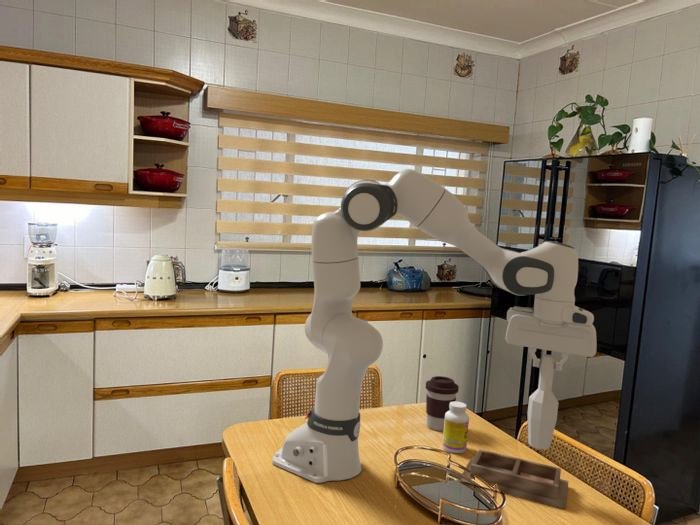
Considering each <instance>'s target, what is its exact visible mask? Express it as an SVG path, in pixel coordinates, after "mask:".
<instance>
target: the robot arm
mask: <svg viewBox="0 0 700 525" xmlns="http://www.w3.org/2000/svg"><path fill="white" fill-rule="evenodd" d="M394 216H399V217H401V218H403V219H404V220H406V221H408V222H409V223H410V224H411V225H412V226H414V227H415V228H417V229H418V230H419V231H421V232H423V233H424V234H426V235H427V236H429V237H431V238H433V239H435V240H437V241H439V242H441V243H445V244H449V245H451V246H453V247H456V248H458V249H459V250H460V251H461V252H463V253H464V254H466V255H467V256H469V257H470V258H471V259H472V260H474V261H475V262H476V263H477V264H479V265H480V266H481V267H482V268H483V270H484V271H485V273H486V275H487V277H488V278H489V280H490V282H491V284H493V285H494V286H495V287H497V288H499V289H501V290H504V291H506V292H509V293H511V294H513V295H514V296H515V295H516V296H520V297H521V296H531V295H534V301H533V302H534V304H533V307H522V306H518V305H517V306H516V305H514V306H513V307H510V308H508V310H507V311H506V321H507V323H508V325H507V327H506V328H507V329H506V331H505V341H506V343H507V344H508V345H514V346H519V347H525V348H526V347H527V348H529V351H528V352H529V355H530V357H531V358H532V367H535V368H540V361H541V358H538V357H537V355H536V352H537V350H538V349H539V350H544V351H551V352H555V353H556V352H557V353H561V357H562V359H561V360H560V361H555V366H556V367H555V371H559V372H562V371H563V365H564V364H565V363H566V361H568V359H569V355H574V356H575V355H576V356H581V357H587V358H593V357H595V355H596V354H597V331H596V327H595V326H594V324H593V323H594V321H595V316H594V314H593V313H592V312H590V311H589V310H586V309H584V308H581V307H579V306H576V305H575V302H576V296H575V289H576V285H577V282H578V277H579V275H578V274H579V255H578V251H577V249H575V248H576V247H573V246H572V245H569V244H566V243H561V242H557V241H553V240H545V241H544V242H543V243H542V244H540V245H538V246H535V247H534V248H531V249H529V250H528V249H527V250H526V251H522V252H518V251H516V250H512V249H507V248H504V247H501V246H499V245H497V244H496V243H494V242H493V241H492V240H491V239H490V238H488V237H487V236H485V235H484V234H483V233H481V231H479V230H478V229H477V228H476V227H475V226H474V225H473V224H472V222H471V221H470V217H469V213H468V210H467V208H466V206H465V205H464V204H463V203H462V202H461V201H460V200H459V199H458V197H456V196H455V195H454V194H453V193H452V192H450V190H449V189H447V188H446V187H444V186H443V185H441V184H440V183H438V182H437V181H435V180H434V179H432V178H431V177H429V176H427V175H425V174H423V173H421V172H419V171H417V170H415V169H412V168H405V169H403V170H401V171H399V172H397V173H396V174H394V176H393V177H392V178H391V179H390V180H389V181H388V182H387V183H384V184H381V183H380V182H379V181H376V180H373V179H360V180H358V181H355V182H353V183H352V184H351V185H349V187H348V188H347V189H346V190H345V192H344V193H343V196H342V199H341V202H340V207H339V208H337V210H334V211H327V212H324V213H322V214H320V215H318V216H316V218H315V220H313V223H312V230H311V231H312V232H311V243H310V244H311V246H310V247H311V260H312V261H311V262H312V273H313V286H314V289H313V290H314V293H313V304H312V309H311V313H310V314H309V315H308V317H307V318H306V321H305V323H304V324H305V325H304V333H305V337H306V339H308V341H309V342H310V343H311V344H312V345H313V346H314V347H315V348H316V349H317V350H318V351H321V352H324V354H327V356H328V361H327V365H326V368H325V370H324V373H323V374H321V375H320V376H318V378H317V380H316V382H315V384H316V385H315V398H314V399H315V401H314V406H313V407H312V408H311V409H309V410H308V412H307V413H305V414H304V416H305V417H304V420H306V419H307V421H306V422H305V423H303V424H302V425H300V426H298V427H297V428H295V429H294V430H292V431H291V432H289V434H288V435H287V436H286V438H285V439H284V441H283V444H282V447H281V448H279V449H278V450H277V451H276V452H274V455H273V456H272V461H271V462H272V464H273V465H275V466H276V467H279V468H281V469H283V470H286V471H288V472H289V473H290V472H291V473H292V474H295V475H297V476H299V477H302V478H304V479H306V480H309V481H311V482H313V483H316V484H322V483H324V482H331V481H345V480H349V479H352V478H354V477H356V476H358V475H359V474H360V473H361V472H362V465H361V458H360V452H359V436H360V430H361V413H360V402H361V393H362V385H363V381H364V377H365V376H366V373H367V371H368V369H369V367H370V366H372V365H373V364H374V363H375V362H376V361H377V360H378V359H379V357H380V356H381V354H382V351H383V347H384V346H383V345H384V342H383V337H382V335H381V333H380V331H379V330H377V328H376V327H374V326H373V325H372V324H371V323H369V322H368V321H367V320H364V319H361V318H359V317H356V316H354V314H353V311H352V308H353V303H354V302H353V301H354V298H355V296H357V294H358V293H359V291H360V290H361V275H360V273H361V272H360V262H359V250H358V238H359V237H358V236H359V234H360V232H361V231H362V232H369V231H370V232H371V231H372V230H376V229H377V228H380V227H381V226H382V225H384V224H385V223H386V222H387V221H389V220H391V218H393V217H394Z"/></svg>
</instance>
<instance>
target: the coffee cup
mask: <svg viewBox="0 0 700 525" xmlns="http://www.w3.org/2000/svg"><path fill="white" fill-rule="evenodd" d="M459 388H460V386H459V385H458V384H457V383H456V382H455V380H454V379H452V378H451V377H447V376H442V375H437V376H432V377H430V379H429V380H427V381H426V382H425V389H426V391H427V393H426V395H425V396H426V397H425V398H426V401H425V402H426V406H425V408H426V410H425V411H426V426H427V428H429V429H431V430H433V431H436V432H437V431H439V432H444V421H445V414H446V412H447V411H449V410H450V408H449V405H450V402H454V401H456V400H457V397H456V395H457V394H458V392H459ZM456 402H457V401H456Z"/></svg>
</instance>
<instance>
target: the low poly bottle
mask: <svg viewBox="0 0 700 525" xmlns="http://www.w3.org/2000/svg"><path fill="white" fill-rule="evenodd" d="M555 365H556V360H555V357H554V355H551V354H543V355H542V356H541V358H540V366H539V376H538V385H537V386H538V388H537V389H536V390H534V392H532V393H531V395H530V396H529V397H528V407H527V413H526V414H527V443H528V445H530V447H532V448H534V449H537V450H547V449H550V447H551V444H552V439H553V436H554V431H555V428H556V424H557V420H558V412H559V411H558V409H559V401H558V398H556V396H555V394H554V392H553V391H552V390H553V389H552V388H553V382H554V376H555V375H554V374H555V371H556V370H555V367H556V366H555Z"/></svg>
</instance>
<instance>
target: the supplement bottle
mask: <svg viewBox="0 0 700 525" xmlns="http://www.w3.org/2000/svg"><path fill="white" fill-rule="evenodd" d="M449 408H450V410H449V411H447V412H446V414H445V421H444V431H442V445H441V446H442V448H443V449H444V450H445V451H446V452H448V453H453V454H462V453H465V452H466V451H467V445H468V434H469V423H470V417H469V414H468V413H467V412H466V411H467V404H466V403H465V402H461V401H454V402H450V405H449Z"/></svg>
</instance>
